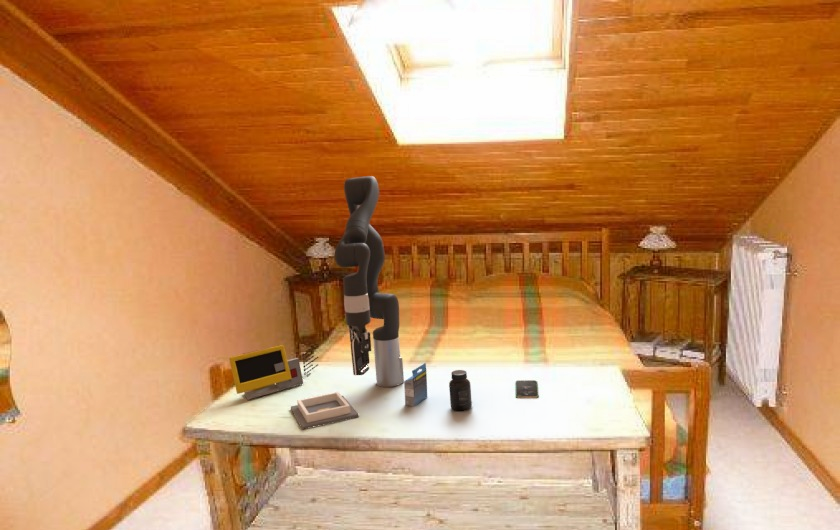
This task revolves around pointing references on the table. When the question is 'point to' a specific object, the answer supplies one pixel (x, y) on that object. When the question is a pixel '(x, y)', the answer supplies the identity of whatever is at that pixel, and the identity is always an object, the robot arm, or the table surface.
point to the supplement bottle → (460, 391)
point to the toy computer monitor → (259, 371)
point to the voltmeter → (293, 372)
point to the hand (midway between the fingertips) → (361, 360)
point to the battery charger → (357, 358)
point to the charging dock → (323, 410)
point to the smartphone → (527, 389)
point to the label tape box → (416, 386)
